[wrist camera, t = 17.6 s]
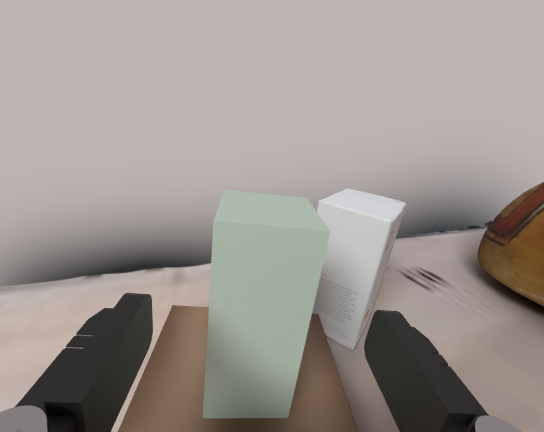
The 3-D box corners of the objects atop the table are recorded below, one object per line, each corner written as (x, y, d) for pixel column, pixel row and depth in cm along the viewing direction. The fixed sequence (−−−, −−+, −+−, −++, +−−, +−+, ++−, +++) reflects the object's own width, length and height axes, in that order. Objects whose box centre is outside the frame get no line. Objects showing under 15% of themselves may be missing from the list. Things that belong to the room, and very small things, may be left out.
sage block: (279, 348, 18) (306, 197, 14) (288, 417, 14) (330, 231, 10) (213, 346, 18) (224, 189, 14) (202, 418, 13) (213, 220, 10)
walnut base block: (310, 349, 23) (318, 313, 22) (362, 563, 12) (386, 517, 11) (172, 343, 22) (172, 305, 21) (89, 576, 11) (76, 526, 9)
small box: (323, 285, 33) (347, 187, 29) (374, 308, 30) (408, 202, 26) (293, 319, 27) (317, 199, 22) (353, 353, 24) (395, 221, 19)
